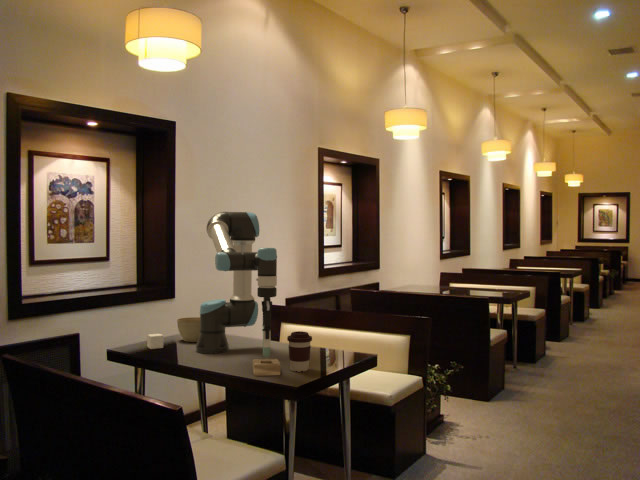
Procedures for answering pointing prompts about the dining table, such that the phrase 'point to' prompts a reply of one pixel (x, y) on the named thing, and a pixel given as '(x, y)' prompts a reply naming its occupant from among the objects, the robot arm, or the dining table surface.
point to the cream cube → (154, 341)
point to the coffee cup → (299, 351)
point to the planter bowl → (189, 328)
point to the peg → (265, 348)
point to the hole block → (266, 367)
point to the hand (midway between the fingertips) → (266, 346)
